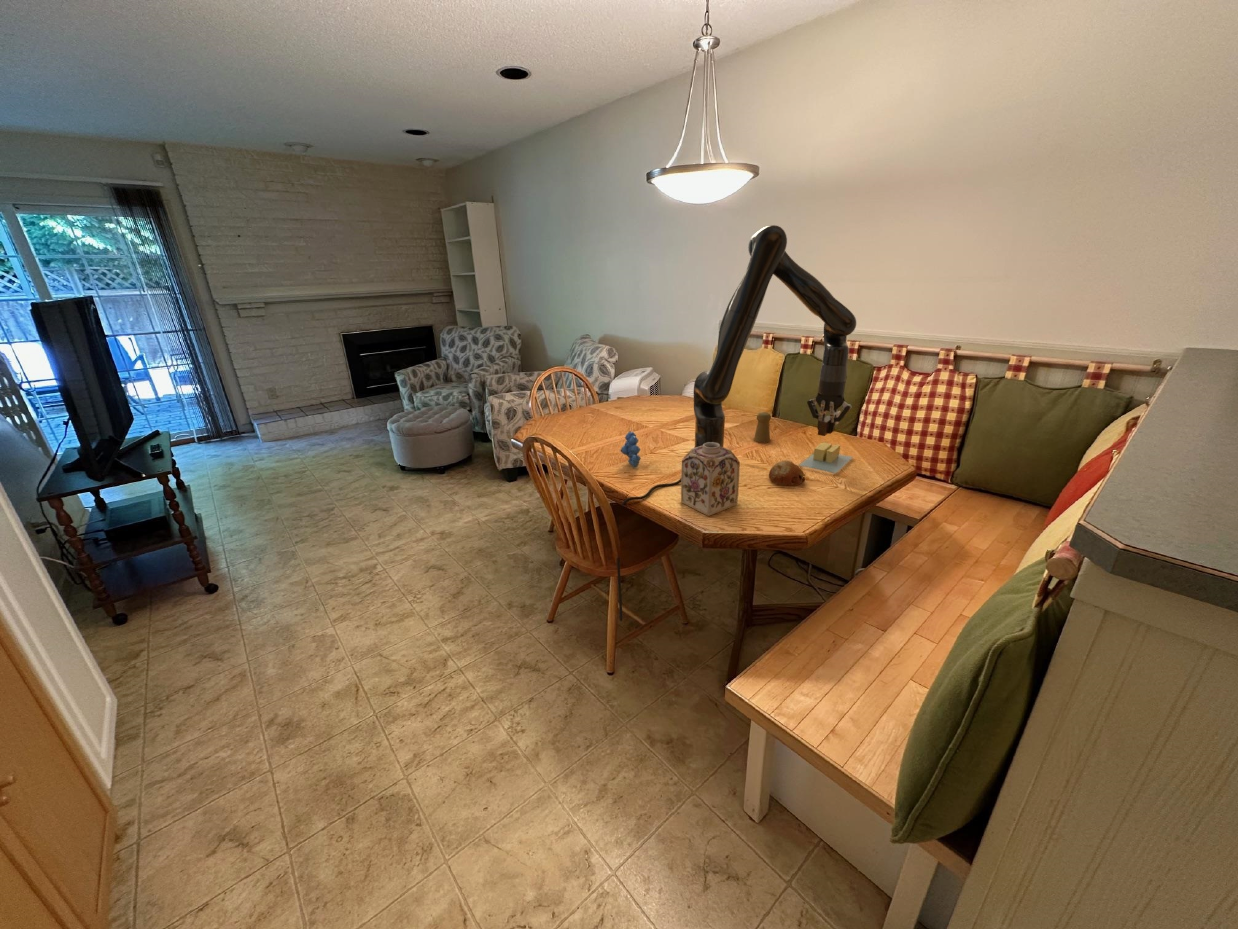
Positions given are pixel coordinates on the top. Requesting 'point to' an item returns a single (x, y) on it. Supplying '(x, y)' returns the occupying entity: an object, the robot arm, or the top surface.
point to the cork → (762, 428)
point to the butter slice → (832, 453)
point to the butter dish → (826, 463)
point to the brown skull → (786, 474)
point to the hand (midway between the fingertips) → (825, 432)
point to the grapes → (631, 449)
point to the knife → (825, 425)
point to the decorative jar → (710, 478)
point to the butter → (821, 451)
